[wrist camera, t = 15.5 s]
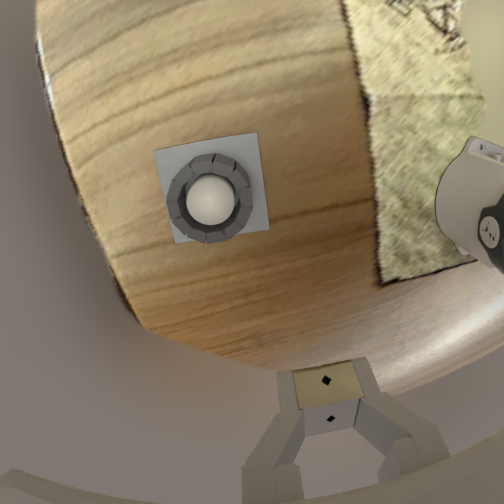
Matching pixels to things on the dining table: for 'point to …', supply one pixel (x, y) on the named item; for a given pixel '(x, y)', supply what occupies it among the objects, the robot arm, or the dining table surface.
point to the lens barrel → (222, 163)
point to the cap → (211, 199)
